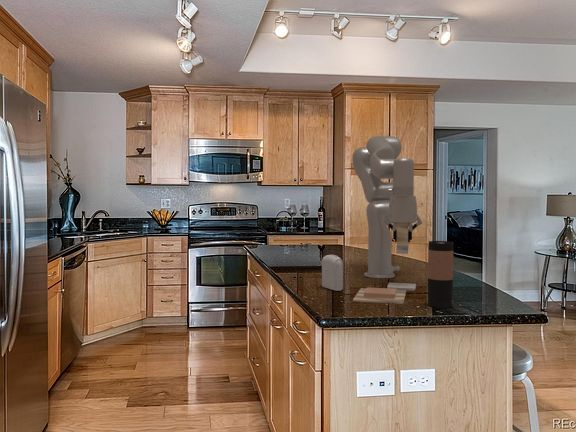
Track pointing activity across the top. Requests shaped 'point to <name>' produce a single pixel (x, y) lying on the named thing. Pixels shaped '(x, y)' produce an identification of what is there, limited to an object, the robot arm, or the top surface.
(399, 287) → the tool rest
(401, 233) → the wooden block
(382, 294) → the tile
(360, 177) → the robot arm
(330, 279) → the photo printer
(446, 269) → the travel mug
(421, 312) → the top surface
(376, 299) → the oak board
